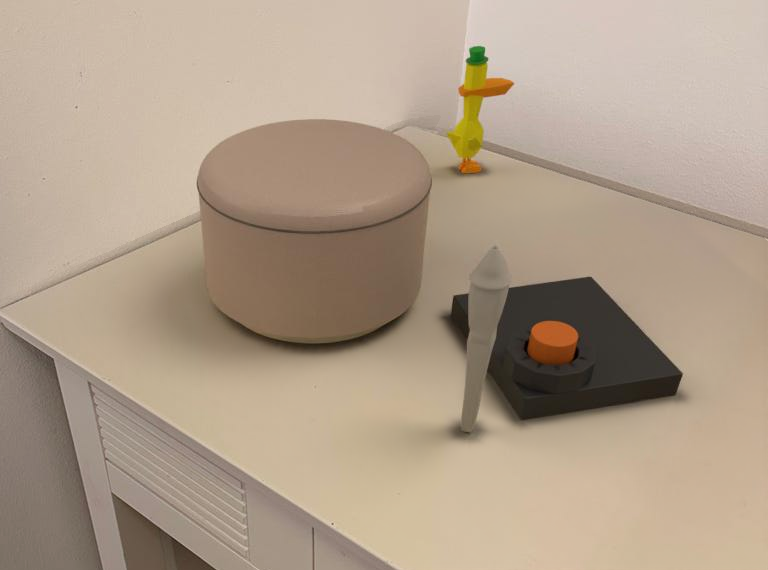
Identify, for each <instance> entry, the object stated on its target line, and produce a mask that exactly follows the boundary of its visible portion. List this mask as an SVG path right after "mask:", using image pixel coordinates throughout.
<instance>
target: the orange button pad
mask: <svg viewBox="0 0 768 570" xmlns="http://www.w3.org/2000/svg"><path fill="white" fill-rule="evenodd" d="M468 298H469V292H468V293H460V294H453V295H452V303H451V308H450V309H451V311H450V316H451V318H452V319H453V321H454V322H455V325H457V327H458V328H459V330H460V332H461V333H462V334H463V336H464V338H465V339H466V341H467V340H468V336H469V332H470V328H469V317H468ZM544 321H558V322H562V323H565V324H568V325H570V326H571V327H573V328H574V329H575V330H576V331H577V333H578V341H577V345H576V349H575V353H574V357H573V360H572V361H571V362H570V363H568V364H562V365H551V364H544V363H540V362H538V361H536V360H534V359H532V358H530V357H529V355H528V352H527V349H528V344H529V339H530V334H531V330H532V328H533V326H534V325H536V324H538V323H540V322H544ZM487 372H488V374H490V376H491V378H492V379H493V380H494V382H495V383H496V385H497V387H498V388H499V389H500V391H501V392H502V393H503V395H504V397H505V398H506V400H507V401H508V403H509V404H510V405H511V407H512V409H513V410H514V411H515V413H516V415H517V416H518V418H519V420H527V419H535V418H541V417H547V416H554V415H559V414H567V413H572V412H578V411H584V410H591V409H597V408H601V407H608V406H614V405H619V404H627V403H633V402H640V401H646V400H652V399H658V398H664V397H670V396H676V395H677V393H678V390H679V387H680V383H681V381H682V378H683V375H684V373H683V372H682V371H681V369H680V368H678V366H677V365H676V364H675V363H674V362H673V361H672V360H671V359H670V358H669V357H668V356H667V355H666V354H665V353H664V352H663V351H662V350H661V349H660V348H659V346H657V344H655V342H654V341H653V340H652V339H651V338H650V336H648V335H647V334H646V333H645V331H643V330H642V328H640V326H639V325H638V324H637V323H635V321H634V320H633V319H632V318H631V317H630V316H629V314H627V312H625V310H623V308H622V307H621V306H620V305H619V304H618V303H617V302H616V301H615V300H614V299H613V298H612V297H611V296H610V295H609V293H607V292H606V290H605V289H603V287H602V286H601V285H600V284H599V283H598V282H597V281H596V280H595V278H593V277H592V276H583V277H577V278H576V277H575V278H569V279H568V278H567V279H561V280H555V281H547V282H540V283H534V284H533V283H531V284H525V285H518V286H511V287H510V286H509V290H508V294H507V298H506V301H505V305H504V308H503V311H502V314H501V317H500V320H499V322H498V325H497V332H496V339H495V342H494V346H493V349H492V353H491V356H490V360H489V364H488V368H487Z"/></svg>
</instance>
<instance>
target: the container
mask: <svg viewBox="0 0 768 570" xmlns="http://www.w3.org/2000/svg"><path fill="white" fill-rule="evenodd" d="M430 169H431V168H430V166H429V163H428V161H427V159H426V158H425V156H424V154H423V153H422V152H421V150H419V149H418V148H417V147H416V146H415V145H414V144H413V143H411V142H410V141H409V140H407V139H406V138H404V137H402V136H401V135H398V134H396V133H393V132H391V131H389V130H386V129H383V128H381V127H377V126H373V125H370V124H365V123H360V122H356V121H348V120H339V119H324V118H323V119H321V118H314V119H313V118H307V119H293V120H284V121H277V122H271V123H267V124H262V125H259V126H258V125H257V126H254V127H250V128H248V129H245V130H242V131H240V132H238V133H235V134H233V135H231V136H229V137H227V138H225V139H224V140H222V141H220V142H219V143H218V144H216V145H215V146H214V147H213V148H212V149H211V150H210V151H209V152H208V153H207V154H206V155H205V157H204V158H203V160H202V162H201V163H200V166H199V169H198V174H197V177H196V189H197V192H198V202H199V203H198V204H199V212H200V224H201V236H202V246H203V260H204V270H205V281H206V288H207V294H208V295H209V298H210V300H211V301H212V303H213V304H214V305H215V306H216V308H217V309H218V310H219V311H221V312H222V313H223V314H224V315H226V316H227V317H229V318H230V319H232V320H234V321H235V322H237V323H239V324H241V326H243V327H245V328H246V329H249V330H250V331H251V332H254V333H256V334H259V335H261V336H263V337H267V338H270V339H274V340H279V341H283V342H287V343H296V344H329V343H336V342H337V343H338V342H344V341H348V340H349V341H350V340H352V339H356V338H360V337H363V336H365V335H368V334H370V333H372V332H374V331H377V330H378V329H380V328H381V327H383V326H384V325H386V324H388V323H389V322H391V321H393V320H395V319H397V318H399V317H400V316H401V315H402V314H404V313H405V312H406V311H408V309H410V307H412V305H413V304H414V303H415V301H416V300H417V298H418V296H419V294H420V292H421V286H422V276H423V269H424V268H423V267H424V256H425V246H426V238H427V237H426V236H427V225H428V216H429V205H430V194H431V189H432V184H433V179H432V174H431V170H430Z"/></svg>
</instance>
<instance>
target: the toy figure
mask: <svg viewBox="0 0 768 570" xmlns="http://www.w3.org/2000/svg"><path fill="white" fill-rule="evenodd" d="M468 51H469V52H468V53H469V57H467V58H465V63H466V64H465V65H466V66H465V73H464V82H463V84H461V85H460V86H459V87H457V90H458V94H459V96H460V97H463V117H462V118H461V120H460V121H458V123H457V124H456V125H455V126H454V130H453V131H445V134H446V136H447V138H448V140H449V142H450V144H451V145H452V147H453V149H454V151H455V152H456V154H457V157H459V158H461V159H462V160H461V161H462V162H461V163H459V165H457V169H458V170H460V171H461V173H462V174H477V173H479V172H481V171H482V165H480V164H479V163H478V161H476V160H473V159H472V158H474V157H475V156H476V155H477V154H478V152H479V151H480V150H481V149H482V147H483V142H484V141H483V140H484V127H483V125H482V124H481V122H480V119H479V116H480V111H481V108H482V104H483V100H484V98H491V97H497V96H503V95H506V94H507V93H508V92H509V90H510V89H512V87H513V86H514V85H515V82H514V81H512V80H511V79H507V78H503V77H487V75H488V74H487V73H488V66H489V65H488V62H489V57H487V56H486V55H485V53H486V47H485V46H482V45H475V46H471V47H470V48H468Z"/></svg>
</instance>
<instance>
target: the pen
mask: <svg viewBox="0 0 768 570" xmlns="http://www.w3.org/2000/svg"><path fill="white" fill-rule="evenodd" d="M512 278H513V276H512V274H511V272H510V270H509V268H508V264H507V262H506V259H505V257H504V255H503V253H502V252H501V249H500V248H499V247H498V244H494V245H493V246H492V247H491V248H490V249H489V250H488V251H487V252H486V253H485V254H484V256H483V257H482V258H481V260H480V261H479V262H478V264H477V265H476V266H475V268H474V269H473V270H471V272H470V274H469V281H470V284H469V289H468V293H469V298H468V317H469V328H470V332H469V336H468V340H467V339H466V362H465V363H466V364H465V379H464V391H463V401H462V410H461V418H460V428H461V432H464V433H465V432H466V433H472V432H473V429H474V427H475V424H476V423H477V418H478V414H479V410H480V406H481V405H480V404H481V401H482V400H481V399H482V394H483V390H484V386H485V381H486V377H487V372H488V370H487V368H488V364H489V360H490V356H491V353H492V349H493V346H494V342H495V339H496V332H497V325H498V322H499V320H500V317H501V314H502V311H503V308H504V305H505V301H506V298H507V294H508V290H509V288H510V284H511V283H512V281H513V280H512Z"/></svg>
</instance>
